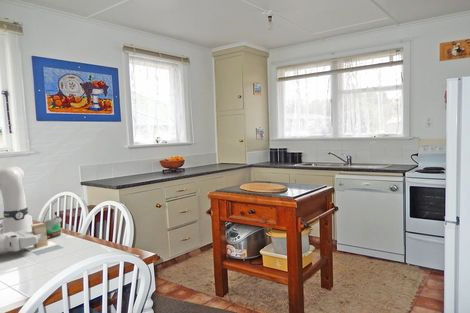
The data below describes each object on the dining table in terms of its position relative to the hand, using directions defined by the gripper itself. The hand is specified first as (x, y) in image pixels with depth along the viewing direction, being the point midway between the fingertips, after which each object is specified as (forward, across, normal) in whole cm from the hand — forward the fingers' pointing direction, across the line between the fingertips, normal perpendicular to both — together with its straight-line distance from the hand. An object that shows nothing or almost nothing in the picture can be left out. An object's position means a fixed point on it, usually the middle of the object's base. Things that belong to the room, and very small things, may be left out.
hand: (41, 233), depth 172 cm
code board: (-1, +5, -6) cm, 8 cm away
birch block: (-1, 0, -6) cm, 6 cm away
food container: (+10, -11, -7) cm, 16 cm away
